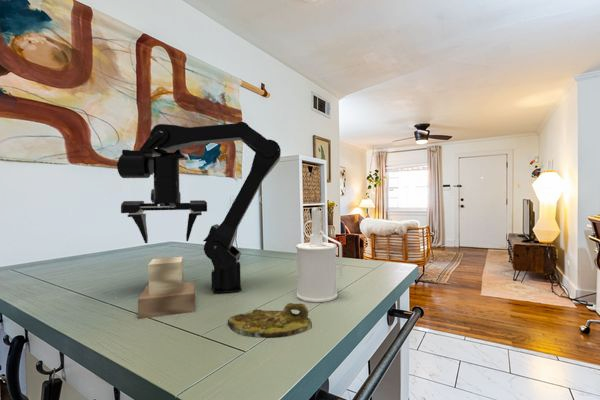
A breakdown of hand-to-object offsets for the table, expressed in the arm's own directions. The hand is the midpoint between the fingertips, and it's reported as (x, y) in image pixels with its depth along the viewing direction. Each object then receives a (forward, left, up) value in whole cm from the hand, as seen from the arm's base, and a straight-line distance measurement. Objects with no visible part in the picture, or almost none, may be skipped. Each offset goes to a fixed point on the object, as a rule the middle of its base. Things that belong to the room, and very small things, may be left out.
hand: (167, 242), depth 73 cm
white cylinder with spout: (-34, +15, -12) cm, 39 cm away
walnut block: (-2, +12, -13) cm, 17 cm away
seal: (-21, +27, -13) cm, 36 cm away
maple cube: (-2, +12, -8) cm, 14 cm away
